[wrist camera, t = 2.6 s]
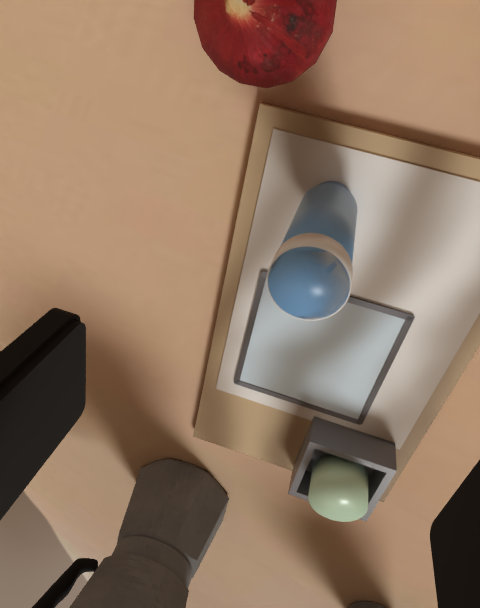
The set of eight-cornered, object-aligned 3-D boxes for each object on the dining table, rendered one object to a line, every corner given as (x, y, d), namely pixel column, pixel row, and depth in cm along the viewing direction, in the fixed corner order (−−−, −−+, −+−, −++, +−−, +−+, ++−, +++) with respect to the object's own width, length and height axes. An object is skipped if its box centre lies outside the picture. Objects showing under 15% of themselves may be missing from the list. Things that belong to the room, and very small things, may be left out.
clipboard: (574, 181, 22) (580, 185, 21) (383, 495, 36) (383, 505, 35) (262, 102, 24) (258, 104, 23) (195, 431, 38) (192, 438, 37)
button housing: (395, 441, 32) (396, 470, 30) (366, 491, 35) (366, 521, 33) (314, 415, 33) (309, 441, 31) (293, 466, 36) (288, 493, 34)
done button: (376, 465, 31) (376, 494, 29) (357, 499, 33) (356, 528, 31) (321, 447, 32) (317, 474, 30) (305, 481, 34) (301, 509, 32)
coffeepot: (239, 460, 38) (152, 731, 23) (259, 531, 42) (196, 800, 27) (87, 450, 43) (-67, 670, 28) (118, 515, 47) (-1, 736, 32)
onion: (366, -21, 20) (363, -51, 14) (301, 102, 23) (272, 127, 17) (255, -89, 20) (195, -154, 13) (204, 44, 23) (135, 45, 16)
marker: (367, 182, 24) (363, 259, 15) (348, 235, 25) (336, 330, 17) (310, 167, 24) (277, 234, 16) (296, 220, 26) (258, 306, 17)
